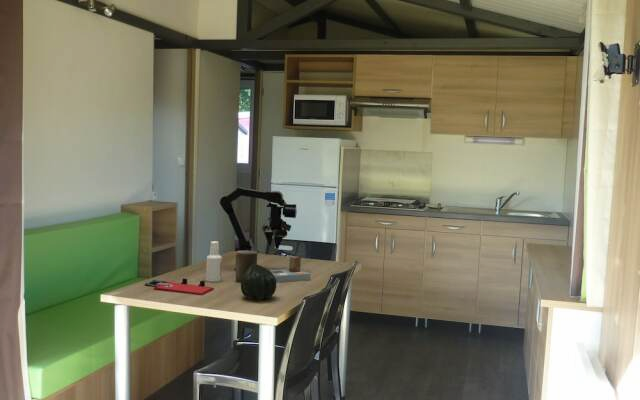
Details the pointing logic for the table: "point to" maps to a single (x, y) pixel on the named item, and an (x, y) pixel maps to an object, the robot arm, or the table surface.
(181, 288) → the red board with handle
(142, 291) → the table surface
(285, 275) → the socket block
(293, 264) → the peg
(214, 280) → the spray bottle
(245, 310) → the table surface
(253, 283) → the squash
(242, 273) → the pillar candle
